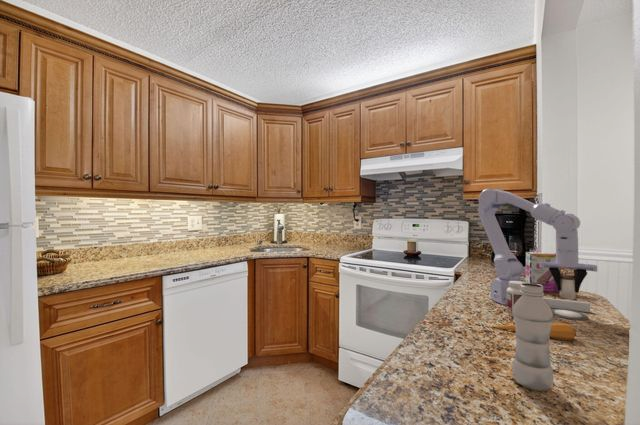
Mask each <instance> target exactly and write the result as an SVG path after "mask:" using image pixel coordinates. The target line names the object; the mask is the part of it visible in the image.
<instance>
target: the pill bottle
mask: <svg viewBox="0 0 640 425" xmlns="http://www.w3.org/2000/svg"><path fill="white" fill-rule="evenodd" d="M522 283H526V281H522V280H521V281H509V286H510V287H509V288H507V305H506V313H507V315H509V316H511V317H514V316H513V307H514V304H515V303H516V302H517V300H518V299H519V298H520V297H521V296H522V294H521V293H520V290H521V287H520V285H521V284H522Z"/></svg>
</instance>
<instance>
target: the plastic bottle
mask: <svg viewBox="0 0 640 425" xmlns="http://www.w3.org/2000/svg"><path fill="white" fill-rule="evenodd" d="M520 287H521V290H520V293H521V294H522V296H521V297H520V298H519V299H518V300H517V302H516V303H515V304H514V307H513V316H512V317H513V321H514V325H515V329H516V332H515V342H516V343H515V353H514V359H513V362H512V372H513V377H514V379H515V380H516V381H517V383H518V384H519V385H521V386H522V387H525V388H527V389H529V390H532V391H533V390H534V391H539V392H544V391H548V390H549V389H550V388H551V387H552V386H553V383H554V372H553V367H552V365H551V362H552V361H551V355H550V340H551V339H550V331H551V326H552V323H553V318H554V315H553V314H552V311H551V309H552V308H551V307H549V306H548V304H547V303H546V302H545V301H544V300H543V299H542V298H544V297H545V293H544V292H543V286H542V285H538V284H532V283H526V282H525V283H522V284H521V285H520Z"/></svg>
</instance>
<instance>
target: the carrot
mask: <svg viewBox="0 0 640 425" xmlns="http://www.w3.org/2000/svg"><path fill="white" fill-rule="evenodd" d="M493 327H497V328H502V329H507V330H506V331H508V330H511V331H510V332H514V331H516V329H515V324H507V325H496V326H493ZM497 328H496V329H497ZM502 329H501V330H502ZM576 336H577V333H576V330H575V328H573V326H572V325H571V324H570V323H565V322H557V323H555V322H554V323H553V322H552V326H551V331H550V337H551V339H556V340H562V339H563V340H564V341H574V340H575V337H576ZM563 340H562V341H563Z"/></svg>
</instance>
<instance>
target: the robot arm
mask: <svg viewBox="0 0 640 425" xmlns="http://www.w3.org/2000/svg"><path fill="white" fill-rule="evenodd" d="M477 202H478V211H477V213H478V217H479V220H480V221H481V224H482V227H483V229H484V231H485V234H486V236H487V238H488V241H489V244H490V246H491V248H492V251H493V253H494V259H493V263H494V272H495V274H496V275H497V278H494V279H492V280H491V281H490V297H489V299H490V300H491V301H494V302H497V303H498V304H501V305H504V306H507V288H509V287H510V286H509V281H521V282H522V279H521V275H522V274H523V272H524V266H523V264H522V262H520V260H518V258H517V257H516V255H515V254H514V253H513V252H512V251H511V250H510V248H509V245H508V242H507V240H506V238H505V236H504V233H503V231H502V228H501V227H500V224H499V222H498V220H497V218H496V215H495V214H496V212H497V211H498V209H499V208H501V206H503V205H504V204H510V205H512V206H514V207H517V208H519V209H521V210H525V211H527V212H529V213H530V215H531V218H534V219H536V220H538V221H539V222H543V223H545V224H547V225H549V226H552V228H554V230H555V253H556V262H540V268H549V270H550V272H551V274H552V276H553V278H554V281H555V284H556V288H557V290H558V291H559V292H560V291H561V287H560V275H561V274H562V273H561V271H559V269H560V270H571V271H572V270H573V276H575V294H576V293H579V291H580V288H581V285H582V283H583V282H584V279H585V278H586V276H587V275H588V271H589V272H596V273H597V272H598V265H597V264H592V263H591V264H588V263H580V262H579V236H578V235H579V234H578V232H579V228H580V226H581V221H580V218H579V217H578V216H576V215H575V214H574V213H566V211H565V210H563V209H561V210H559V209H557V208H555V207H553V206H551V204H550V203H547V202H545V203H543V202H541V203H534V202H532V201H529V200H527V199H525V198H523V197H521V196H519V195H517V194H515V193H513V192H509V191H505V190H503V189H501V188H500V189H498V188H497V189H496V188H495V189H492V188H485V189H483V190H482V191H481V192H480V194H479V195H478V197H477Z"/></svg>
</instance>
